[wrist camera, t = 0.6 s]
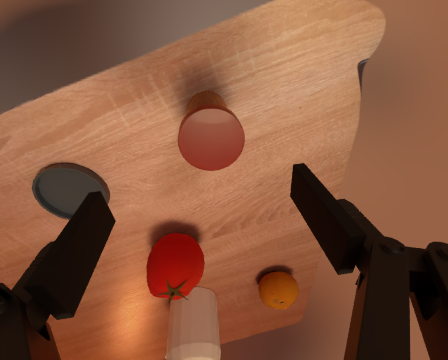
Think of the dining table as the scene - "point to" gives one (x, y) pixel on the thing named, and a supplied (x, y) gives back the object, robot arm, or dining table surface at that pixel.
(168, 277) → the tomato
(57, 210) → the saucer
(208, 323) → the container
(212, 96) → the jar
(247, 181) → the dining table surface
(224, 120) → the lid
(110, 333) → the dining table surface
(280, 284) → the fruit
